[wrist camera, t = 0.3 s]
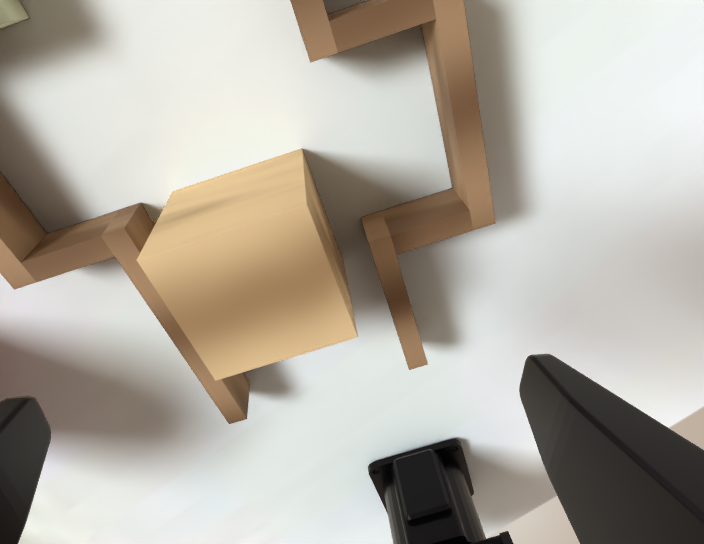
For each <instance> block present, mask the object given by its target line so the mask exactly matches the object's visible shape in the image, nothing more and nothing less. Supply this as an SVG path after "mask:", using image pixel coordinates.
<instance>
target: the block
mask: <svg viewBox="0 0 704 544" xmlns="http://www.w3.org/2000/svg"><path fill="white" fill-rule="evenodd" d="M137 262H138V263H139V265H140V266H141V268H142V269H143V271H144V273H145V274H146V276H147V277H148V279H149V280H150V282H151V283H152V285H153V286H154V288H155V289H156V291H157V292H158V294H159V295H160V297H161V298H162V300H163V301H164V303H165V305H166V306H167V308H168V309H169V311H170V312H171V314H172V315H173V317H174V318H175V320H176V321H177V323H178V324H179V326H180V327H181V329H182V330H183V332H184V334H185V335H186V337H187V338H188V340H189V341H190V343H191V344H192V346H193V347H194V349H195V350H196V352H197V353H198V355H199V356H200V358H201V359H202V361H203V362H204V364H205V366H206V367H207V369H208V370H209V372H210V373H211V375H212V376H213V378H214V379H215V381H216V380H220V379H223V378H226V377H229V376H233V375H236V374H239V373H242V372H246V371H249V370H252V369H255V368H259V367H262V366H265V365H269V364H272V363H275V362H278V361H282V360H285V359H288V358H291V357H295V356H298V355H301V354H304V353H308V352H311V351H314V350H317V349H321V348H324V347H327V346H330V345H334V344H337V343H340V342H343V341H347V340H350V339H353V338H356V337H358V335H357V330H356V325H355V320H354V315H353V310H352V304H351V299H350V294H349V289H348V284H347V279H346V274H345V268H344V263H343V259H342V257H341V254H340V251H339V248H338V246H337V243H336V240H335V237H334V235H333V232H332V229H331V226H330V224H329V221H328V218H327V215H326V213H325V210H324V207H323V205H322V202H321V199H320V196H319V194H318V191H317V188H316V185H315V183H314V180H313V177H312V174H311V172H310V169H309V166H308V163H307V161H306V158H305V155H304V152H303V150H302V149H299V150H296V151H293V152H290V153H287V154H284V155H281V156H278V157H275V158H272V159H269V160H266V161H263V162H260V163H257V164H254V165H251V166H248V167H245V168H242V169H239V170H236V171H233V172H230V173H227V174H224V175H221V176H218V177H215V178H212V179H209V180H206V181H203V182H200V183H197V184H194V185H191V186H188V187H185V188H182V189H179V190H176V191H173V192H172V194H171V196H170V198H169V199H168V201H167V203H166V205H165V207H164V209H163V211H162V213H161V215H160V216H159V218H158V220H157V222H156V224H155V226H154V228H153V230H152V232H151V234H150V235H149V237H148V239H147V241H146V243H145V245H144V247H143V249H142V251H141V252H140V254H139V256H138V258H137Z"/></svg>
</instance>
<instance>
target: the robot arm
mask: <svg viewBox="0 0 704 544" xmlns="http://www.w3.org/2000/svg"><path fill="white" fill-rule="evenodd" d="M519 391H520V397H521V401H522V404H523V406H524V409H525V412H526V415H527V418H528V421H529V424H530V427H531V429H532V432H533V435H534V438H535V441H536V444H537V447H538V450H539V452H540V455H541V458H542V461H543V464H544V466H545V469H546V471H547V474H548V476H549V478H550V480H551V483H552V485H553V487H554V489H555V491H556V493H557V496H558V498H559V500H560V502H561V504H562V506H563V508H564V510H565V512H566V514H567V517H568V519H569V521H570V523H571V525H572V527H573V529H574V531H575V533H576V536H577V538H578V540H579V542H580V544H704V450H703V449H701V448H699V447H698V446H696V445H695V444H693V443H691V442H690V441H688V440H686V439H685V438H683V437H682V436H680V435H678V434H677V433H675V432H674V431H672V430H670V429H669V428H667V427H666V426H664V425H663V424H661V423H660V422H658V421H656V420H655V419H653V418H652V417H650V416H648V415H647V414H645V413H644V412H642V411H640V410H639V409H637V408H636V407H634V406H632V405H631V404H629V403H628V402H626V401H624V400H623V399H621V398H620V397H618V396H617V395H615V394H613V393H612V392H610V391H609V390H607V389H605V388H604V387H602V386H601V385H599V384H597V383H596V382H594V381H593V380H591V379H589V378H588V377H586V376H585V375H583V374H581V373H580V372H578V371H577V370H575V369H573V368H572V367H570V366H569V365H567V364H566V363H564V362H562V361H561V360H559V359H558V358H556V357H554V356H553V355H550V354H537V355H530V356H528V357H527V359H526V361H525V365H524V370H523V374H522V378H521V382H520V389H519ZM50 440H51V429H50V426H49V424H48V422H47V420H46V418H45V416H44V414H43V411H42V409H41V407H40V405H39V403H38V401H37V400H36V399H35V398H34V397H32V396H21V397H10V398H6V399H4V400H3V401H1V402H0V544H18V542H19V540H20V537H21V534H22V532H23V529H24V527H25V524H26V521H27V518H28V515H29V512H30V508H31V505H32V501H33V498H34V495H35V491H36V488H37V485H38V481H39V478H40V474H41V471H42V468H43V464H44V461H45V457H46V454H47V451H48V447H49V444H50ZM368 471H369V475H370V477H371V479H372V481H373V483H374V486H375V488H376V490H377V492H378V494H379V496H380V498H381V501H382V503H383V505H384V507H385V509H386V511H387V513H388V517H389V522H390V528H391V533H392V538H393V544H513V542H512V539H511V537H510V535H509V532H508V531H506V532H502V533H500V535H498V536H495V537H491V538H488V539H486V537H485V534H484V532H483V529H482V526H481V523H480V520H479V517H478V514H477V512H476V509H475V506H474V503H473V500H472V497H471V496H472V495H473V494H474V491H473V487H472V483H471V479H470V476H469V472H468V468H467V464H466V461H465V457H464V453H463V450H462V446H461V443H460V441H459V440H456V439H453V440H449V441H446V442H442V443H439V444H435V445H432V446H428V447H425V448H421V449H418V450H415V451H411V452H408V453H404V454H401V455H397V456H394V457H390V458H387V459H383V460H380V461H377V462H373V463H371V464H370V465H369V466H368Z"/></svg>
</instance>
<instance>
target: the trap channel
mask: <svg viewBox="0 0 704 544" xmlns="http://www.w3.org/2000/svg"><path fill="white" fill-rule="evenodd" d="M291 4H292V7H293V10H294V13H295V16H296V19H297V22H298V25H299V28H300V32H301V35H302V38H303V41H304V44H305V47H306V50H307V53H308V56H309V60H310V62H313V61H316V60H319V59H322V58H325V57H328V56H331V55H333V54H336V53H339V52H342V51H345V50H348V49H351V48H354V47H357V46H359V45H362V44H365V43H368V42H371V41H374V40H377V39H380V38H383V37H386V36H388V35H391V34H394V33H397V32H400V31H403V30H406V29H409V28H412V27H415V26H417V25H420V24H421V26H422V32H423V37H424V42H425V47H426V53H427V58H428V63H429V68H430V74H431V79H432V84H433V89H434V94H435V100H436V105H437V110H438V115H439V121H440V126H441V131H442V136H443V141H444V147H445V152H446V157H447V162H448V168H449V173H450V178H451V183H452V188H451V189H448V190H445V191H442V192H438V193H435V194H432V195H429V196H426V197H423V198H420V199H417V200H414V201H411V202H407V203H404V204H401V205H398V206H395V207H392V208H389V209H386V210H383V211H380V212H376V213H373V214H370V215H367V216H364V217H361V220H362V223H363V227H364V230H365V233H366V237H367V240H368V243H369V246H370V249H371V253H372V256H373V259H374V262H375V265H376V268H377V271H378V274H379V277H380V281H381V284H382V287H383V290H384V293H385V296H386V299H387V302H388V305H389V309H390V312H391V315H392V318H393V321H394V324H395V327H396V330H397V333H398V337H399V340H400V343H401V346H402V349H403V352H404V355H405V358H406V361H407V365H408V368H409V370H411V369H414V368H417V367H421V366H424V365H427V360H426V357H425V353H424V350H423V346H422V343H421V339H420V336H419V332H418V329H417V325H416V322H415V319H414V315H413V312H412V308H411V305H410V301H409V298H408V294H407V291H406V287H405V284H404V280H403V277H402V273H401V270H400V266H399V263H398V259H397V256H396V255H397V254H400V253H403V252H406V251H409V250H412V249H416V248H419V247H422V246H425V245H428V244H431V243H434V242H438V241H441V240H444V239H447V238H450V237H453V236H457V235H460V234H463V233H466V232H469V231H472V230H476V229H479V228H482V227H485V226H488V225H491V224H495V216H494V209H493V202H492V195H491V188H490V181H489V174H488V167H487V160H486V153H485V146H484V139H483V132H482V125H481V118H480V111H479V104H478V97H477V90H476V83H475V76H474V69H473V62H472V55H471V48H470V41H469V34H468V27H467V20H466V13H465V6H464V0H368V1H365V2H362V3H359V4H357V5H354V6H351V7H348V8H345V9H342V10H339V11H337V12H334V13H331V14H328V15H327V13H326V9H325V6H324V2H323V0H291ZM28 18H29V16H28V14H27V13H26V11H25V9H24V8H23V6H22V4H21V3H20V1H19V0H0V29H1V28H4V27H6V26H9V25H12V24H15V23H17V22H20V21H23V20H25V19H28ZM153 228H154V224H153V222H152V221H151V219H150V217H149V216H148V214H147V212H146V211H145V209H144V207H143V206H142V204H141V203H138V204H135V205H132V206H129V207H126V208H123V209H120V210H117V211H114V212H111V213H108V214H105V215H102V216H99V217H96V218H93V219H90V220H87V221H84V222H81V223H78V224H75V225H72V226H69V227H66V228H63V229H60V230H57V231H54V232H51V233H48V234H47V233H46V232H45V230H44V229H43V228H42V226H41V225H40V224H39V223H38V221H37V220H36V219H35V217H34V216H33V215H32V213H31V212H30V211H29V209H28V208H27V207H26V205H25V204H24V203H23V201H22V200H21V199H20V197H19V196H18V195H17V193H16V192H15V191H14V189H13V188H12V187H11V185H10V184H9V183H8V181H7V180H6V179H5V177H4V176H3V175H2V173H1V172H0V273H1V274H2V276H3V277H4V278H5V279H6V280H7V281H8V283H9V284H10V285H11V286H12V287H13V288H14V289H17V288H20V287H23V286H27V285H30V284H33V283H36V282H39V281H42V280H45V279H48V278H51V277H54V276H57V275H60V274H63V273H66V272H69V271H72V270H75V269H78V268H81V267H84V266H87V265H91V264H94V263H97V262H100V261H103V260H106V259H109V258H112V257H115V258H116V259H117V260H118V262H119V263H120V265H121V266H122V268H123V269H124V271H125V272H126V274H127V275H128V277H129V278H130V280H131V281H132V282H133V284H134V285H135V287H136V288H137V290H138V291H139V293H140V294H141V296H142V297H143V299H144V300H145V301H146V303H147V304H148V306H149V307H150V309H151V310H152V312H153V313H154V315H155V316H156V318H157V319H158V321H159V322H160V323H161V325H162V326H163V328H164V329H165V331H166V332H167V334H168V335H169V337H170V338H171V340H172V341H173V343H174V344H175V345H176V347H177V348H178V350H179V351H180V353H181V354H182V356H183V357H184V359H185V360H186V362H187V363H188V365H189V366H190V367H191V369H192V370H193V372H194V373H195V375H196V376H197V378H198V379H199V381H200V382H201V384H202V385H203V386H204V388H205V389H206V391H207V392H208V394H209V395H210V397H211V398H212V400H213V401H214V403H215V404H216V406H217V407H218V408H219V410H220V411H221V413H222V414H223V416H224V417H225V419H226V420H227V422H228V423H229V424H231V423H234V422H238V421H241V420H244V419H247V411H248V400H249V389H250V384H249V382H248V380H247V379H246V377H245V375H244V374H243V372H242V373H239V374H236V375H233V376H229V377H226V378H223V379H220V380H216V381H215V379H214V378H213V376H212V375H211V373H210V372H209V370H208V369H207V367H206V366H205V364H204V362H203V361H202V359H201V358H200V356H199V355H198V353H197V352H196V350H195V349H194V347H193V346H192V344H191V343H190V341H189V340H188V338H187V337H186V335H185V334H184V332H183V330H182V329H181V327H180V326H179V324H178V323H177V321H176V320H175V318H174V317H173V315H172V314H171V312H170V311H169V309H168V308H167V306H166V305H165V303H164V301H163V300H162V298H161V297H160V295H159V294H158V292H157V291H156V289H155V288H154V286H153V285H152V283H151V282H150V280H149V279H148V277H147V276H146V274H145V273H144V271H143V269H142V268H141V266H140V265H139V263H138V262H137V258H138V256H139V254H140V252H141V251H142V249H143V247H144V245H145V243H146V241H147V239H148V237H149V235H150V234H151V232H152V230H153Z"/></svg>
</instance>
